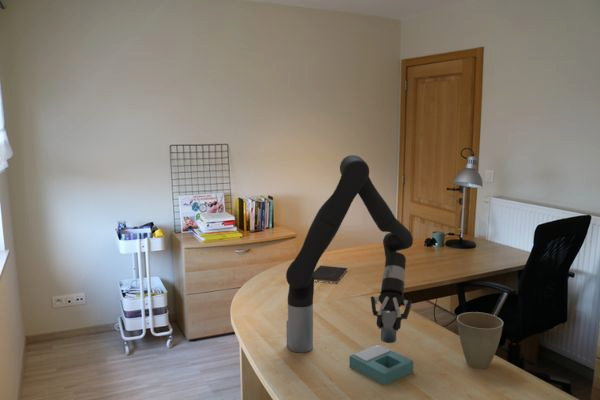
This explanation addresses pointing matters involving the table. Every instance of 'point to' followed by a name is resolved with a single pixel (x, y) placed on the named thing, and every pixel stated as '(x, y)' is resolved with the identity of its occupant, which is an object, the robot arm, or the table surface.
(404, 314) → the robot arm
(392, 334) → the dark grey cylinder
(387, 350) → the jig
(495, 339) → the plant pot
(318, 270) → the hardcover book
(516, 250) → the table surface
